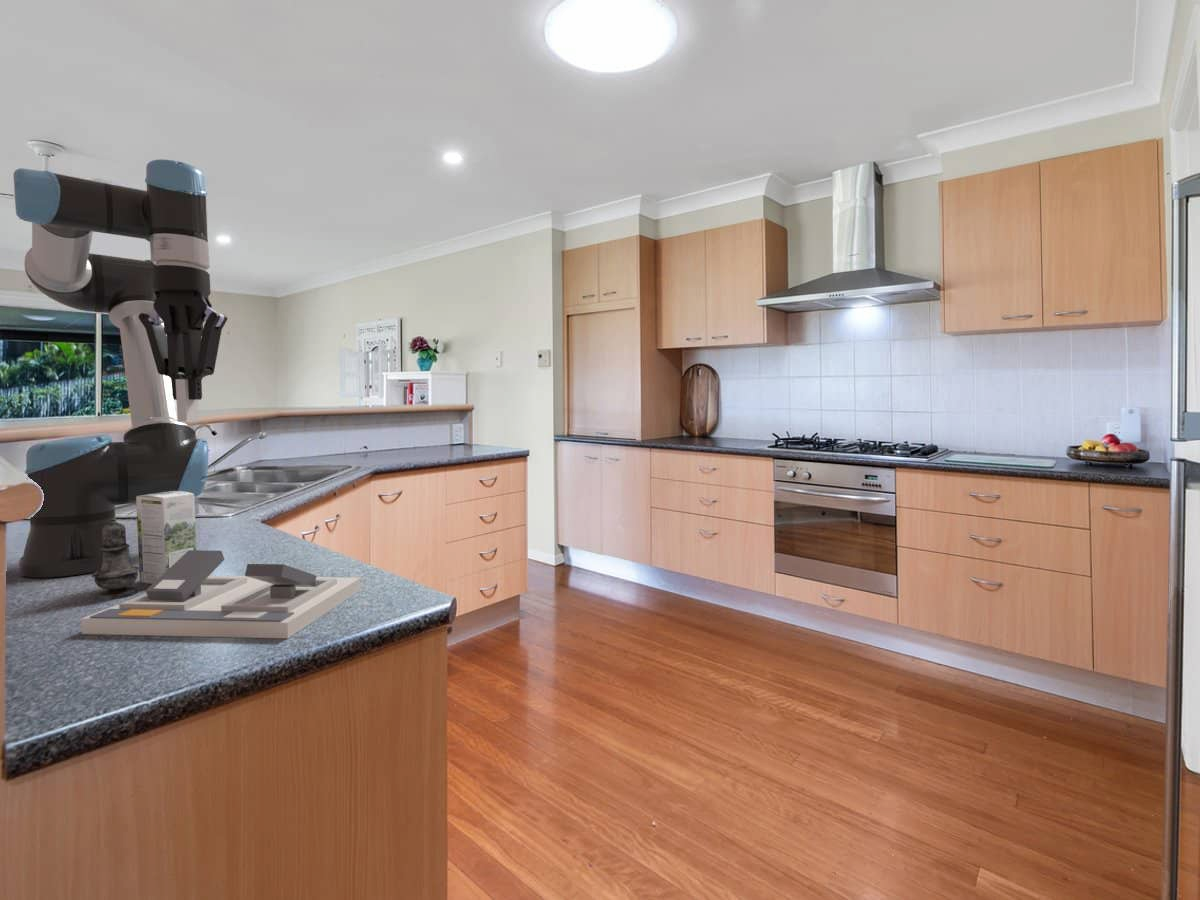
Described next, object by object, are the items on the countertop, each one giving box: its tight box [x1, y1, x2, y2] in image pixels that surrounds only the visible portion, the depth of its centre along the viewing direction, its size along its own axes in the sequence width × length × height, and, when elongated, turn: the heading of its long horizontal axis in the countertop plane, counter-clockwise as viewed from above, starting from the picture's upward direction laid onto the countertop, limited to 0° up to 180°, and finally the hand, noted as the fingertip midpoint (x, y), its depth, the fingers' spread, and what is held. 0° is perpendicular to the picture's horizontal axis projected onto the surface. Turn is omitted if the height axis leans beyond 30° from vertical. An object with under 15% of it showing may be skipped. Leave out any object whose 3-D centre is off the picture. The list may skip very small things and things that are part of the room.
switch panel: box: [81, 574, 362, 639], centre depth 87 cm, size 20×27×4 cm
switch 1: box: [145, 549, 225, 601], centre depth 87 cm, size 9×5×2 cm, turn 176°
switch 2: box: [244, 563, 317, 587], centre depth 87 cm, size 9×5×2 cm, turn 176°
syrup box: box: [135, 491, 197, 585], centre depth 102 cm, size 6×6×14 cm
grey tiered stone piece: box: [91, 517, 140, 601], centre depth 94 cm, size 6×6×12 cm
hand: (188, 420), depth 97 cm, fingers closed
